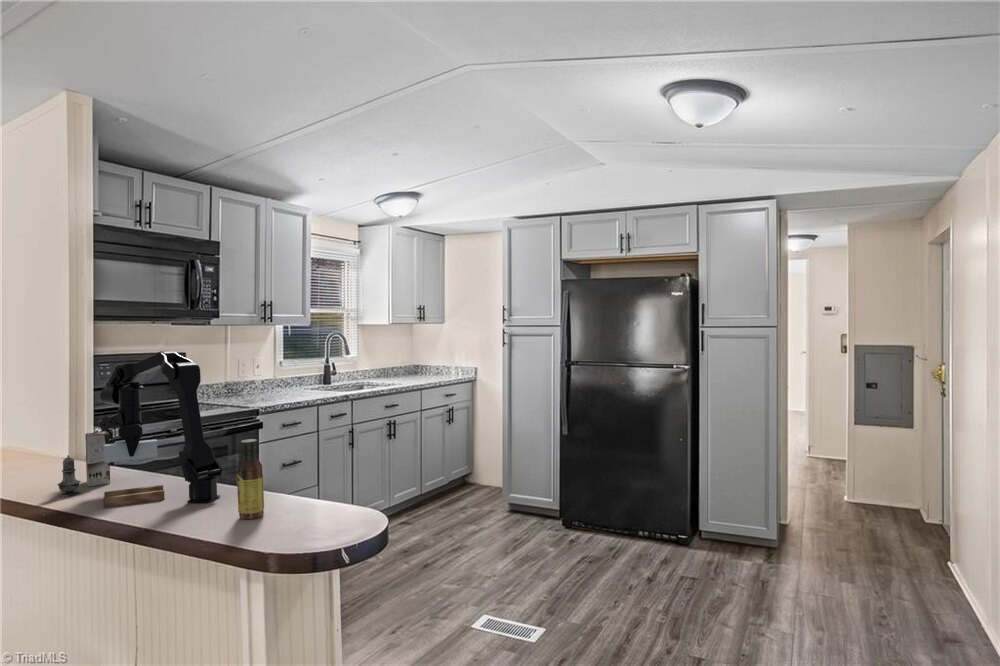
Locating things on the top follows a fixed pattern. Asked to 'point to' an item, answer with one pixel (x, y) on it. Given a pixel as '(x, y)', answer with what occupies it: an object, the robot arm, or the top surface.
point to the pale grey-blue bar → (121, 453)
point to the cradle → (133, 495)
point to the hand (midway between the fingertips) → (131, 455)
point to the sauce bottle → (250, 482)
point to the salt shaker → (68, 479)
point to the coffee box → (97, 458)
